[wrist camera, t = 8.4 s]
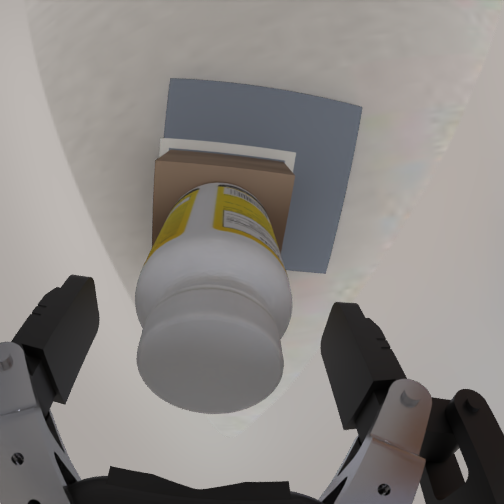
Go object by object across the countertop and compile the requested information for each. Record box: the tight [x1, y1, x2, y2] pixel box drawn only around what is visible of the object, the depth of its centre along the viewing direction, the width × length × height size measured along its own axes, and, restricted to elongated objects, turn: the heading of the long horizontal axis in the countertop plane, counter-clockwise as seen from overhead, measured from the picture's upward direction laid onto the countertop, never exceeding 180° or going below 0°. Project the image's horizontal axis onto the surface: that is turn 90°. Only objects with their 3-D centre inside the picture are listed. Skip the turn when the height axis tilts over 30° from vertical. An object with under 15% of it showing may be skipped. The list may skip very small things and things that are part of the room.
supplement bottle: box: [135, 183, 292, 414], centre depth 12 cm, size 5×5×10 cm
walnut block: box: [152, 150, 295, 254], centre depth 19 cm, size 7×7×4 cm
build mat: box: [159, 78, 362, 274], centre depth 20 cm, size 12×12×1 cm
